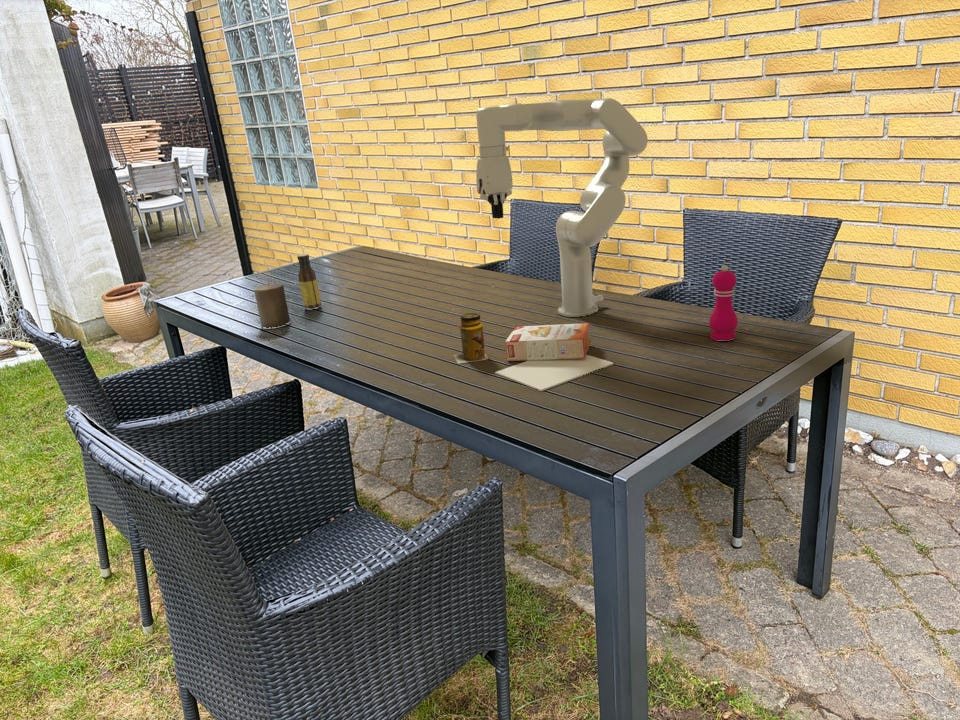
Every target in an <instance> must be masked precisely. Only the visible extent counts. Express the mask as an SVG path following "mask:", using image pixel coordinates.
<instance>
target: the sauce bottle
mask: <svg viewBox="0 0 960 720" xmlns="http://www.w3.org/2000/svg"><path fill="white" fill-rule="evenodd" d="M296 257H297V261H298V263H299V271H298V274H297V275H298V281H299V287H300V292H301V297H302V302H303V303H302V304H303V306H304V309H305V308H315V307H319V306H321V305H322V300H321V299H322V298H321V295H320V289H319V284H318V279H317V277H316V276H317V275H316V272H315V270H314V269H313V268H312V266H311V262H310V255H309V253H301V254H298V255H297V256H296ZM321 307H322V306H321Z"/></svg>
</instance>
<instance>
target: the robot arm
mask: <svg viewBox="0 0 960 720" xmlns="http://www.w3.org/2000/svg"><path fill="white" fill-rule="evenodd" d="M475 115H476V116H475V117H476V126H477V128H476V129H477V138H478V150H479V151H478V152H479V158H478V159H477V162H476V171H475V173H476V178H475V179H476V192H477V194H479V195H480V196H479V199H480V200H484V201H487V202H488V204H489V205H490V207H491V217H492V218H493V219H496V220H497V219H503V218H504V204H505V200H506V198H507V197H509V196H512V194H513V185H514V183H513V174H512V168H511V164H510V159H509V155H507V152H509V147H508V146H506V133H505V132H523V131H544V132H545V131H547V132H569V131H589V130H590V131H591V130H606V131H605V132H604V134H603V137H602V148H603V149H602V151H603V156H604V157H603V161H602V165H601V167H600V168H599V170H598V171H597V173H596V174H595V175H594V177H593V178H592V179H591V180H590V182H589V183H588V184H587V186H586V187H585V189H583V191H582V193H581V195H580V198H579V203H580V204H579V206H580V207H581V208H582V210H583V211H584V212H583V211H577V210H568V211H565V212H562V213H561V215H560V216H559V217H558V218H557V221H556V224H555V234H556V238H557V244H558V248H559V259H560V260H559V261H560V264H559V265H560V285H561V302H562V304H561V306H559V307H558V308H557V313H558V314H559V315H560V316H563V317H569V318H581V317H580V316H583V317H587V316H586V315H589V316H591V314H592V315H594V314H593V313H595V312H596V313H598V311H599V307H598V306H597V302H600V301H604V299H605V298H604V294H597V295H596V296H595V295H594V294H593V275H592V274H593V273H592V254H591V253H592V252H591V248H590V247H593V246H595V245H597V244H598V243H600V242H601V241H602V239H604V237H605V236H607V235H606V234H608V232H609V230H610V229H611V228H612V227H613V226H614V224H615V223H616V222H617V220H618V218H619V217H620V216H621V215H622V213H623V212H624V209H625V206H626V200H627V199H626V195H625V191H624V189H622V187H623V185H625V182H626V180H627V179H628V177H629V174H630V156H631V157H634V156H638V155H640V154H642V153H643V152H644V151H645V150H646V148H647V147H648V139H649V138H648V135H647V134H648V133H647V132H646V130H645V129H644V127H643V126H642V125H641V123H640V122H639V121H637V120H636V118H635V117H634V116H633V115H632V114H631V113H630V111H628V110H627V108H626V107H625V106H624V105H623V104H622V103H621V102H619V101H618V100H616V99H615V98H611V97H610V98H609V97H607V98H590V99H589V98H587V99H586V98H585V99H558V100H557V99H556V100H549V101H545V102H537V103H536V102H533V103H521V102H519V103H517V102H516V103H506V104H502V105H500V106H499V105H494V106H493V105H492V106H485V107H479V108H478V109H477V110H476V113H475ZM596 313H595V314H596Z"/></svg>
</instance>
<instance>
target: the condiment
mask: <svg viewBox="0 0 960 720" xmlns="http://www.w3.org/2000/svg"><path fill="white" fill-rule="evenodd" d="M481 321H482V320H481V315H480V314H479V313H477V312H468V313H464V314H462V315H461V316H460V326H459V331H460V337H461V338H460V340H461V348H462V350H461V351H462V353H458V354H453V355H452V356H453V358H454V360H455V361H456V363H457V364H458V365H461V364H465V363H472V362H474V363H475V362H479V361H485V360H489V359H490V358H489V357H488V356H487V354H486V353H485V351H486V350H485V340H484V339H485V337H484V330H483V329H484V327H483V324H482V323H481Z"/></svg>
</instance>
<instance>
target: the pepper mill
mask: <svg viewBox="0 0 960 720" xmlns="http://www.w3.org/2000/svg"><path fill="white" fill-rule="evenodd" d="M720 267H721V268H720V271H717V272H716V273H715V274H714V275H713V277H712V281H711V282H712V285H713V287H714V289H713V290H714V291H713V292H714V293H713V295H714V296H715V306H714V308H713V311H712V313H711V315H710V317H709V322H708V325H709V328H710V329H711V330H712V331H711V332H710V339H711V338H712V339H715V340H730V339H733V338H735V339H736V331H735V330H736V328H737V327H738V325H739V322H738V317H737V314H736V312H735V310H734V307H733V296H735V289H734V287H736V284H737V277H736V274H735V273H734V272H732V271H730V270H729V267H728V265H727V264H723V265H722V266H720ZM712 339H711V340H712Z"/></svg>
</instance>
